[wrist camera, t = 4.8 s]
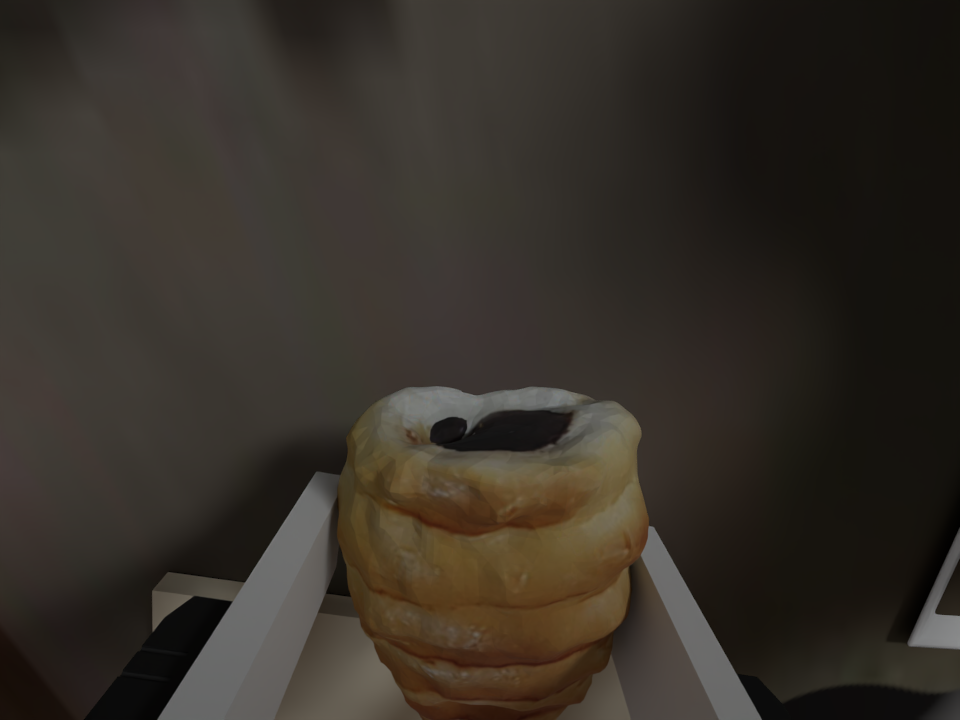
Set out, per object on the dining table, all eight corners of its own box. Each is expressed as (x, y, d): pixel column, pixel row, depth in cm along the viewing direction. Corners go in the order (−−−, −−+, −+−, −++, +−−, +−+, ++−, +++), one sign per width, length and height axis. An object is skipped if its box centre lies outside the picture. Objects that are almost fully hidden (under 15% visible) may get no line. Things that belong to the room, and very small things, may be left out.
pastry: (603, 675, 14) (646, 841, 10) (374, 675, 14) (334, 840, 10) (628, 372, 11) (700, 449, 7) (342, 375, 11) (272, 453, 7)
